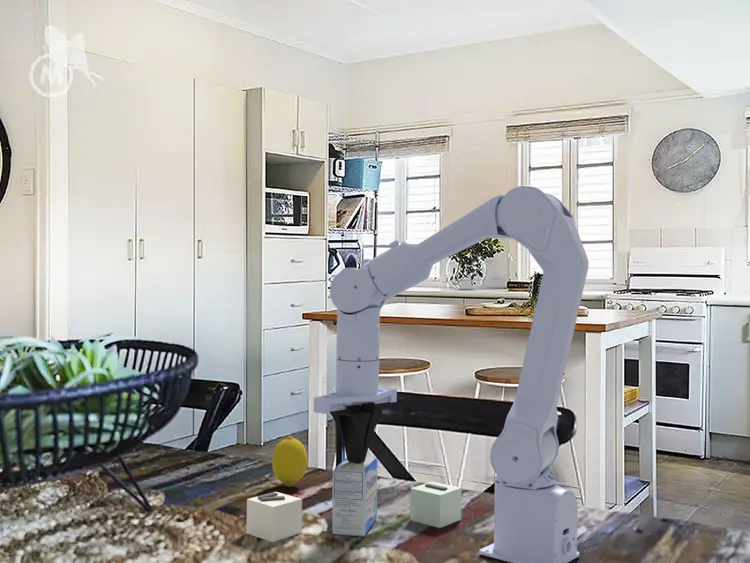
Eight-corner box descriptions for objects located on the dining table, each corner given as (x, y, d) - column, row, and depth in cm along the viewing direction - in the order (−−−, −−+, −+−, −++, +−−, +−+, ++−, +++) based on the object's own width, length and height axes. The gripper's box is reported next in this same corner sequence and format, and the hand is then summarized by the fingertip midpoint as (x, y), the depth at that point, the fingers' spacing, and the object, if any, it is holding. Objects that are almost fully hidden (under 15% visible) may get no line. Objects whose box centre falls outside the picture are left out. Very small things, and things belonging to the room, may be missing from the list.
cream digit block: (301, 533, 102) (302, 496, 102) (272, 542, 98) (273, 504, 98) (275, 525, 105) (275, 489, 105) (246, 534, 102) (247, 496, 102)
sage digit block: (460, 520, 109) (461, 485, 109) (439, 528, 105) (440, 492, 105) (431, 513, 112) (432, 479, 112) (410, 520, 108) (410, 486, 108)
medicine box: (364, 538, 101) (366, 470, 101) (331, 535, 101) (332, 468, 101) (377, 519, 108) (378, 456, 108) (345, 517, 109) (346, 454, 109)
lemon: (267, 484, 126) (268, 434, 126) (300, 480, 128) (300, 431, 128) (278, 492, 121) (278, 440, 121) (311, 489, 123) (312, 438, 123)
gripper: (370, 353, 113) (368, 448, 113) (297, 360, 102) (295, 465, 102) (409, 357, 108) (407, 456, 108) (337, 365, 97) (335, 475, 97)
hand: (356, 461), depth 105 cm, fingers closed
